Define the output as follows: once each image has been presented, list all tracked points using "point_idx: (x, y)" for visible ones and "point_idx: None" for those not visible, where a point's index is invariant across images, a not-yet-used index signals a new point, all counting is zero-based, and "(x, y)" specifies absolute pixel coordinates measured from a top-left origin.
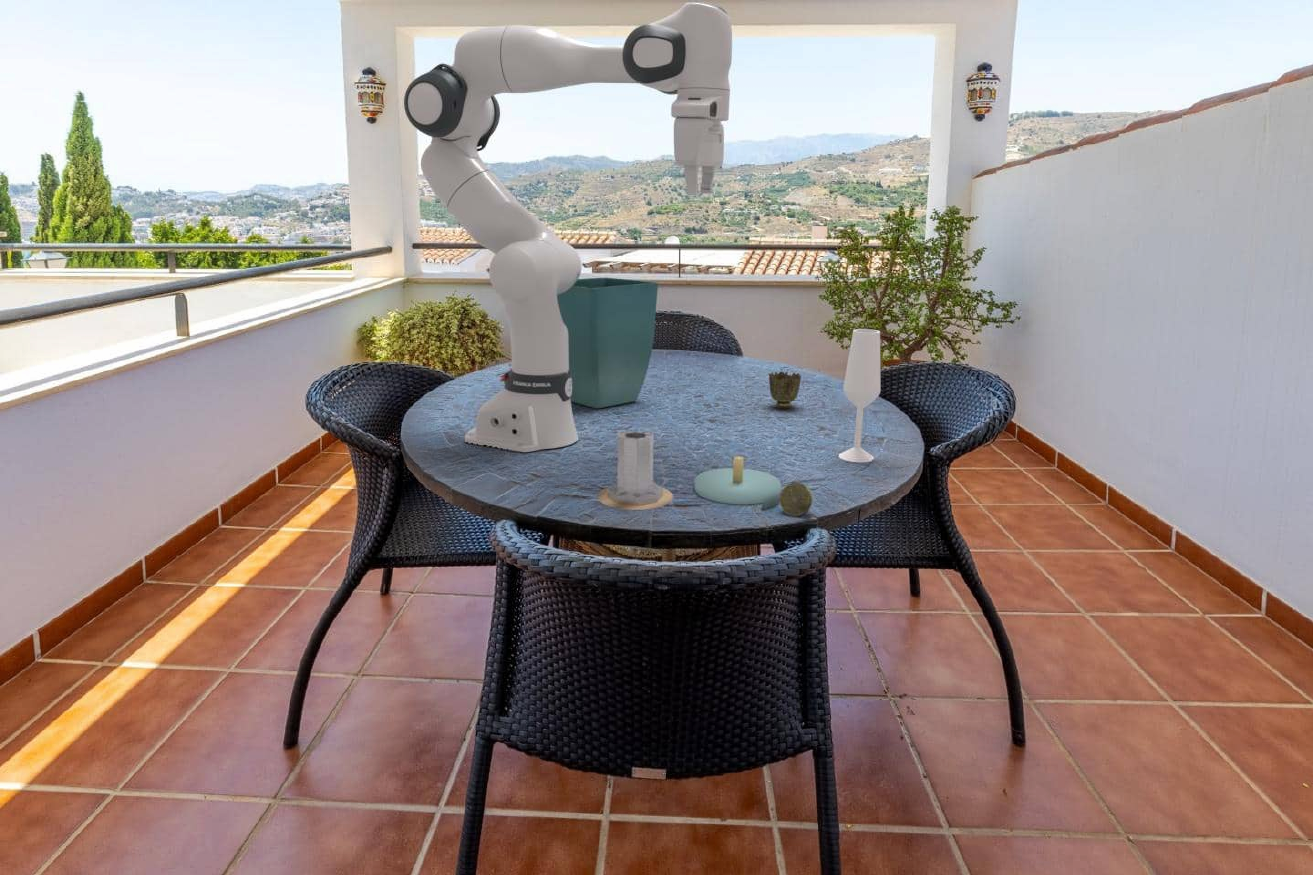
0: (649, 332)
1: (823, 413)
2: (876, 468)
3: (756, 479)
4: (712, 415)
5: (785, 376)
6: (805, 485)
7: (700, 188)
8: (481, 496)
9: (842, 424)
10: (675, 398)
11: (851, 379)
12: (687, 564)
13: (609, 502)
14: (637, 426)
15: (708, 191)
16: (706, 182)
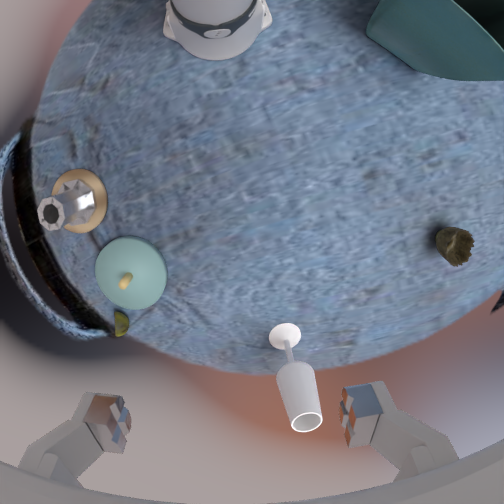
0: (468, 75)
1: (426, 279)
2: (257, 354)
3: (141, 289)
4: (393, 169)
5: (469, 244)
6: (118, 334)
7: (353, 398)
8: (48, 81)
9: (391, 304)
10: (445, 111)
11: (283, 379)
12: (21, 274)
13: (57, 189)
14: (316, 97)
15: (340, 417)
16: (377, 432)
